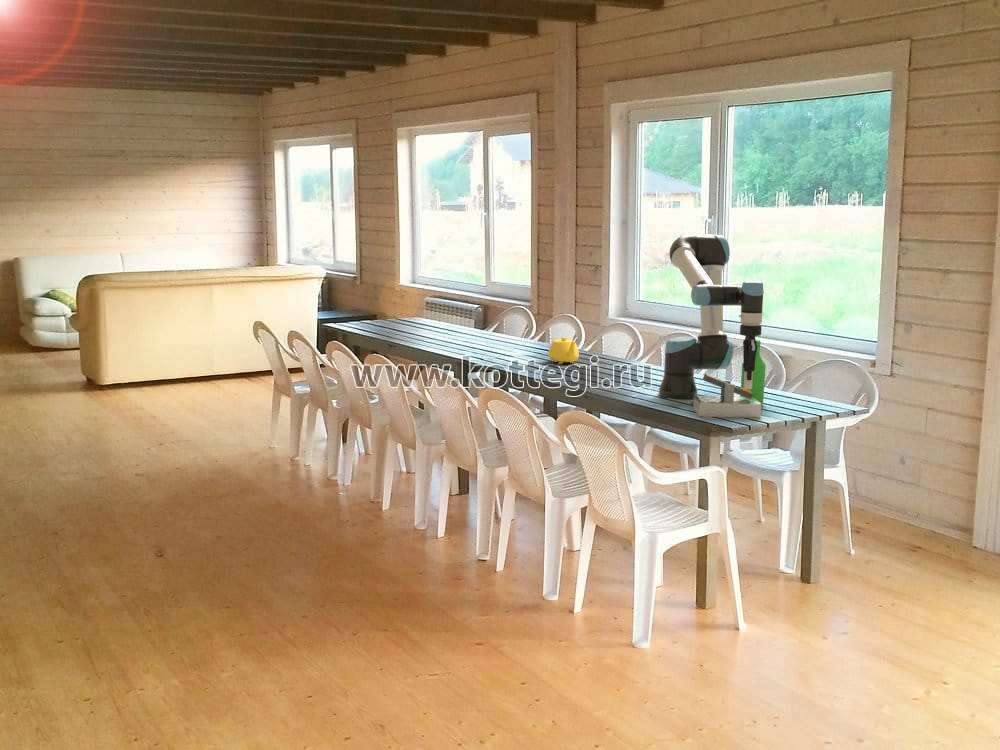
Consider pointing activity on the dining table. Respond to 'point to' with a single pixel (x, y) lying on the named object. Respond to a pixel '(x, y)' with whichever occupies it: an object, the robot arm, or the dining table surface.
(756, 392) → the bottle
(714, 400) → the grey seesaw stand
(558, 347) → the teapot
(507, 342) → the dining table surface
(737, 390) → the rocker
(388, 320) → the dining table surface
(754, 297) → the robot arm
